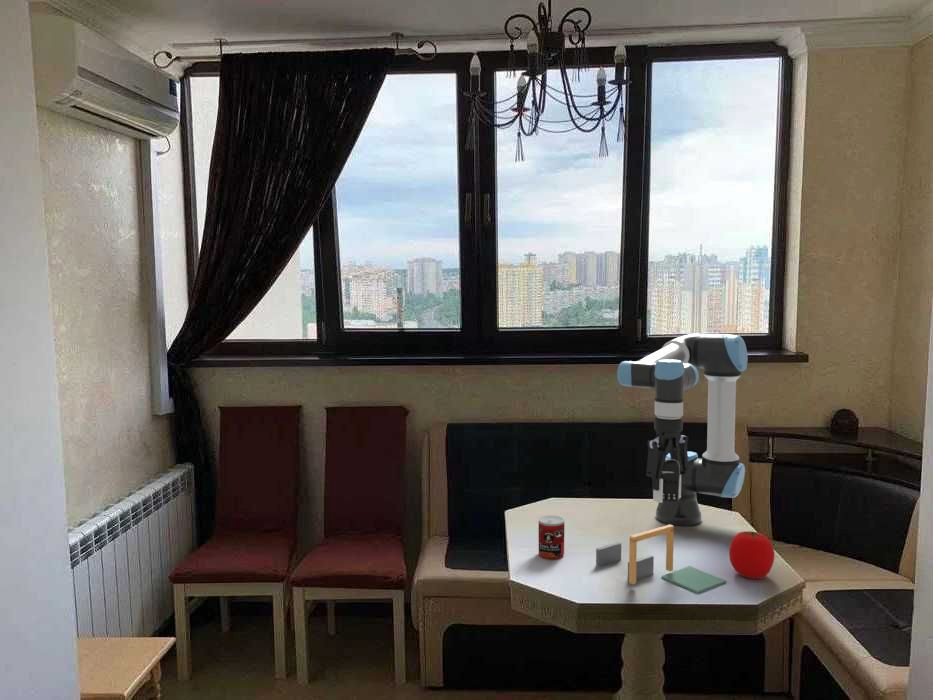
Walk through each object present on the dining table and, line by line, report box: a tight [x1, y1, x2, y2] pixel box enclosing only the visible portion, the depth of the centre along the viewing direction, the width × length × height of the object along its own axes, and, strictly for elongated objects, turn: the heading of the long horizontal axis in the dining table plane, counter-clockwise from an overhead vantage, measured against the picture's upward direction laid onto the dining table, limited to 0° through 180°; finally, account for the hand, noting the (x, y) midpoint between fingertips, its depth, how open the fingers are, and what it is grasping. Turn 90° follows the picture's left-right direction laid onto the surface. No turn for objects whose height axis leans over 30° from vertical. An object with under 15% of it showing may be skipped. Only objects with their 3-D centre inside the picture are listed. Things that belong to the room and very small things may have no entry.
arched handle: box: [628, 524, 675, 585], centre depth 188 cm, size 16×1×13 cm, turn 124°
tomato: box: [728, 530, 775, 580], centre depth 191 cm, size 12×12×13 cm
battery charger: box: [656, 459, 680, 502], centre depth 189 cm, size 7×4×11 cm, turn 75°
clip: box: [595, 541, 655, 581], centre depth 196 cm, size 9×13×5 cm
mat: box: [661, 565, 727, 594], centre depth 189 cm, size 12×12×1 cm
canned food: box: [538, 515, 565, 561], centre depth 207 cm, size 8×8×11 cm
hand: (667, 498), depth 190 cm, fingers closed on battery charger, 6 cm apart
